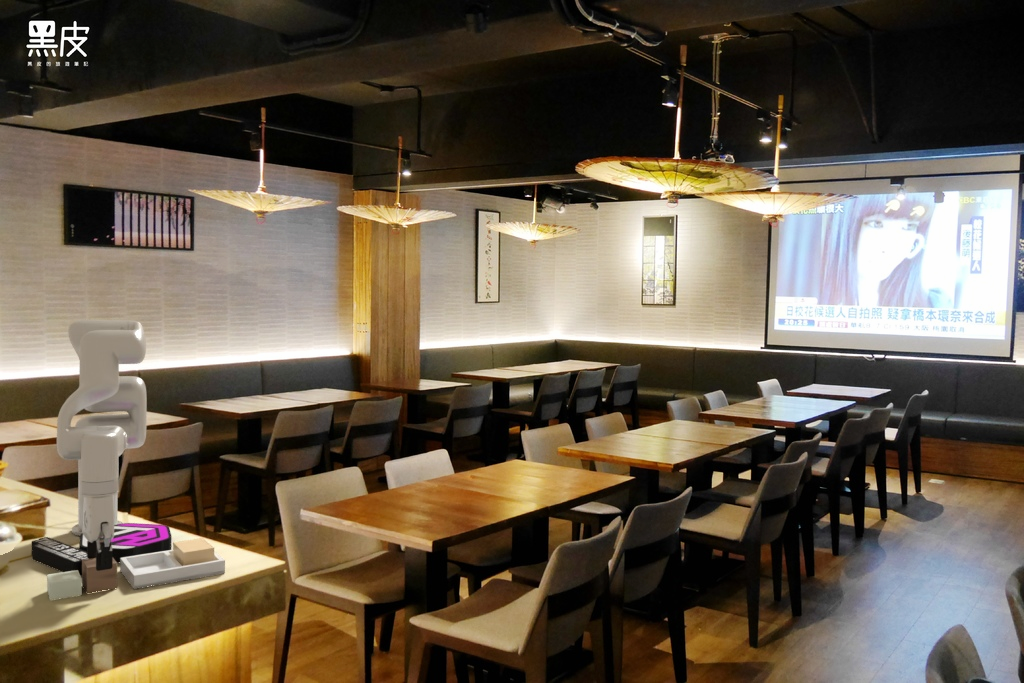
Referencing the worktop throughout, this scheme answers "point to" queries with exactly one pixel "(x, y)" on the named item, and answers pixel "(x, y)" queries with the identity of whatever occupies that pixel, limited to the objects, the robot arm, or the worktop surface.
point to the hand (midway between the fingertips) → (99, 563)
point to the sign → (124, 544)
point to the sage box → (64, 584)
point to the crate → (173, 564)
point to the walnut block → (98, 576)
